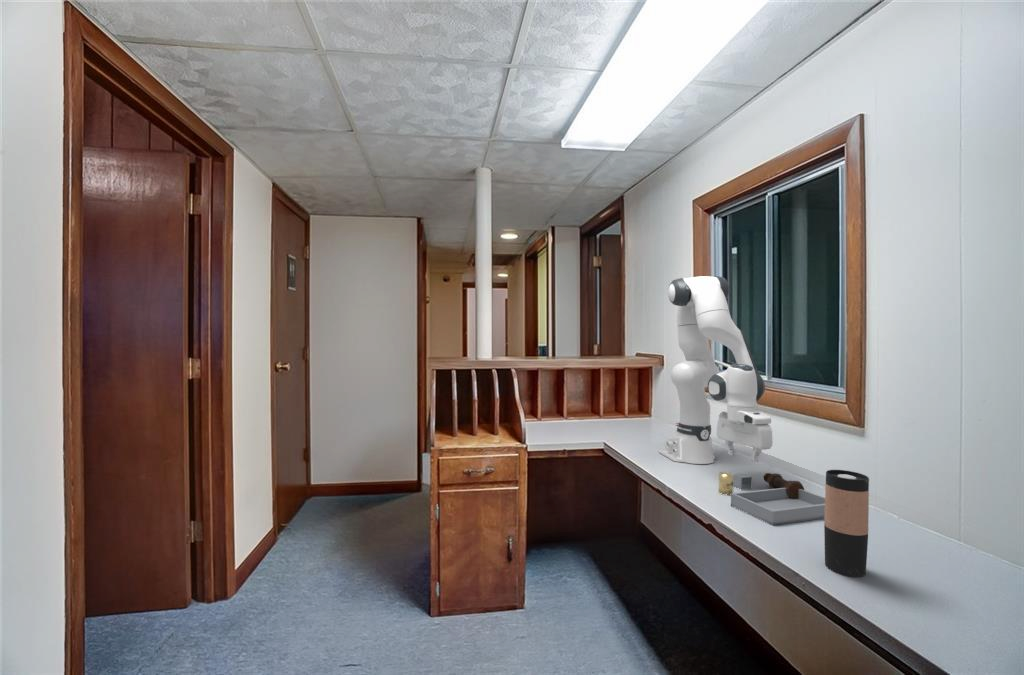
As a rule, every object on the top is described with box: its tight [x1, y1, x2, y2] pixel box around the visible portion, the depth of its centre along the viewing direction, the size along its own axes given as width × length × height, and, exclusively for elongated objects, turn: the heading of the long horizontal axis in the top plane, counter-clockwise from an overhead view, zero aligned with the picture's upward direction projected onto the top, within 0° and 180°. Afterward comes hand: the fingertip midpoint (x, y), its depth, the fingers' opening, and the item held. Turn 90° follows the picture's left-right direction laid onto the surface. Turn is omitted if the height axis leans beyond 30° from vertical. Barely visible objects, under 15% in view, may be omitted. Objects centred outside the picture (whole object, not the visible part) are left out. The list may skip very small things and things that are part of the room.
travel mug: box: [823, 469, 870, 578], centre depth 102 cm, size 8×8×20 cm
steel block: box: [732, 473, 752, 491], centre depth 156 cm, size 4×4×4 cm
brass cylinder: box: [718, 471, 734, 496], centre depth 150 cm, size 4×4×6 cm
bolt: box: [763, 472, 805, 499], centre depth 151 cm, size 6×5×15 cm
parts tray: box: [730, 488, 825, 526], centre depth 136 cm, size 15×24×4 cm, turn 108°
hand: (743, 458), depth 155 cm, fingers open, 8 cm apart
